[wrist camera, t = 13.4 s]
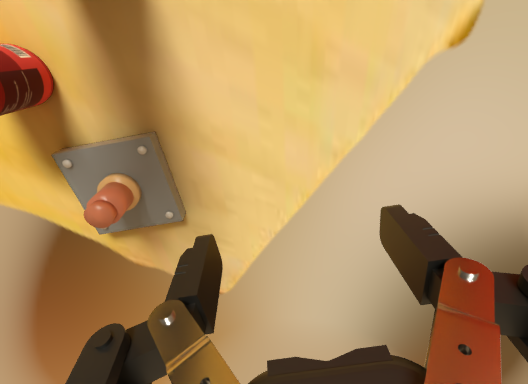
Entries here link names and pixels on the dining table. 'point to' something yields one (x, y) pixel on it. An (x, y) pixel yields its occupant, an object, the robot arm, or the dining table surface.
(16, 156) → the dining table surface
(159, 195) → the square plate with knob
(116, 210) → the orange rounded knob
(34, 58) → the canned food
